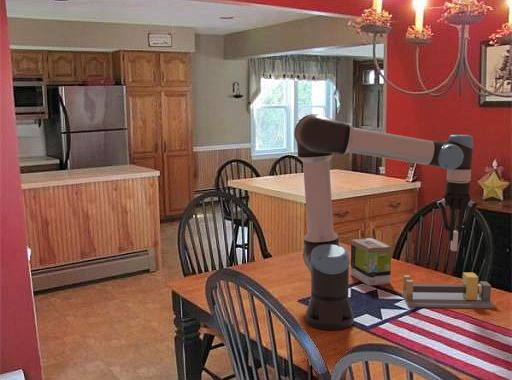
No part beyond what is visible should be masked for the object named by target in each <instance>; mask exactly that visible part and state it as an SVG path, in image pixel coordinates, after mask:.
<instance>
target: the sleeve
mask: <svg viewBox="0 0 512 380" xmlns="http://www.w3.org/2000/svg"><path fill="white" fill-rule="evenodd" d="M478 284H479V276H478V275H477V274H476V273H474V272H462V284H461V285H465V286H466V293H462V295H463V296H464V298H465V299H466V300H477V296H478Z"/></svg>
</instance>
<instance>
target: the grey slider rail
mask: <svg viewBox="0 0 512 380" xmlns="http://www.w3.org/2000/svg"><path fill="white" fill-rule="evenodd" d="M402 282H403V283H402V285H403V286H402V291H401V296H402V298H403V300H404V302H405V304H406V306H407V307H408V308H453V309H454V308H456V309H458V308H461V309H495V305H494V303H493V302H491V294H492V293H491V292H492V285H491V284H490V283H489V282H488V281H487V280H486V281H483V280H480V281H479V280H478V296H477V300H466V299H465V298H464V296H463V295H462V293H466V286H465V285H462V284H445V283H443V284H441V283H440V284H439V283H438V284H436V283H435V284H434V283H433V284H432V283H429V284H428V283H414V280H413V279H411V275H408V274H407V275H403V280H402Z"/></svg>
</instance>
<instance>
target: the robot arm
mask: <svg viewBox="0 0 512 380" xmlns="http://www.w3.org/2000/svg"><path fill="white" fill-rule="evenodd" d="M293 133H294V139H295V142H296V148H297V150H296V151H297V158H298V159H299V160H300V161H301V162H302V167H303V168H302V169H303V183H304V195H305V197H304V198H305V209H306V211H305V212H306V225H307V226H306V227H307V233H306V234H305V235H304V236H303V245H304V246H303V253H302V257H303V262H304V264H305V266H306V267H307V269H308V271H309V273H310V300H309V302H308V305H307V308H306V310H305V311H306V312H305V322H306V324H307V325H309V326H310V327H312V328H315V329H319V330H326V331H339V330H344V329H348V328H350V327H352V325H354V322H355V320H354V319H355V317H354V315H355V314H354V311H353V309H352V305H351V302H350V300H349V278H350V276H349V272H350V271H349V270H350V267H349V266H350V258H349V252H348V250H347V249H346V248H345V247H342V246H340V242H339V240H340V239H339V238H340V237H339V234H338V233H337V232H335V231H334V219H333V218H334V217H333V203H332V187H331V172H330V171H331V170H330V160H331V159H332V157H333V156H334V154H336V155H341V156H344V155H346V154H347V153H351V154H357V155H364V156H371V157H377V158H382V159H388V160H393V161H394V160H395V161H398V162H399V161H401V162H407V163H414V164H419V165H425V166H430V167H436V168H442V169H444V170H446V184H445V194H444V196H443V198H442V199H441V200H437V201H436V204H437V206H438V207H439V212H440V217H441V222H442V228H443V229H444V230H446V231H447V232H448V240H449V241H450V248H449V250H451V251H452V252H458V242H461V240H462V233H463V231H464V232H465V231H468V228H469V225H470V222H471V219H472V216H473V213H474V210H475V209H476V208H477V206H478V203H477V202H475V201H473V200H472V199H471V195H470V194H471V191H470V189H471V183H470V181H472V179H471V176H472V162H473V161H472V160H473V151H474V138H473V136H472V135H469V134H450V135H449V137H448V139H447V140H429V139H421V138H418V137H411V136H405V135H400V134H393V133H389V132H382V131H377V130H370V129H365V128H358V127H353V126H352V125H351V123H348V122H344V121H340V120H336V119H333V118H330V117H328V116H326V115H323V114H322V115H321V114H316V113H315V114H313V113H312V114H307V115H304V116H303V117H302V118H300V119H299V120H298V122H297V123H296V125H295V127H294V132H293ZM446 205H447V206H448V209H449V215H448V218H447V212H446V208H445V206H446ZM466 206H467V208H466ZM465 208H466V212H465V211H464V210H465ZM456 211H457V212H456ZM464 212H465V215H464ZM463 217H464V219H463ZM455 219H456V220H455ZM455 221H456V222H455ZM455 223H456V225H455ZM455 229H456V230H455Z"/></svg>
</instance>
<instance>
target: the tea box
mask: <svg viewBox="0 0 512 380" xmlns="http://www.w3.org/2000/svg"><path fill="white" fill-rule="evenodd" d="M350 243H351V244H350V275H351V276H353V277H355V278H356V279H357V280H359V281H361V282H362V283H364V284H365V285H367V286H378V285H387V284H390V283H391V273H392V266H391V265H392V246H391V245H389V244H387V243H385V242H382V241H380V240H378V239H376V238H373V237H368V238H367V237H366V238H356V239H351V241H350Z"/></svg>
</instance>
